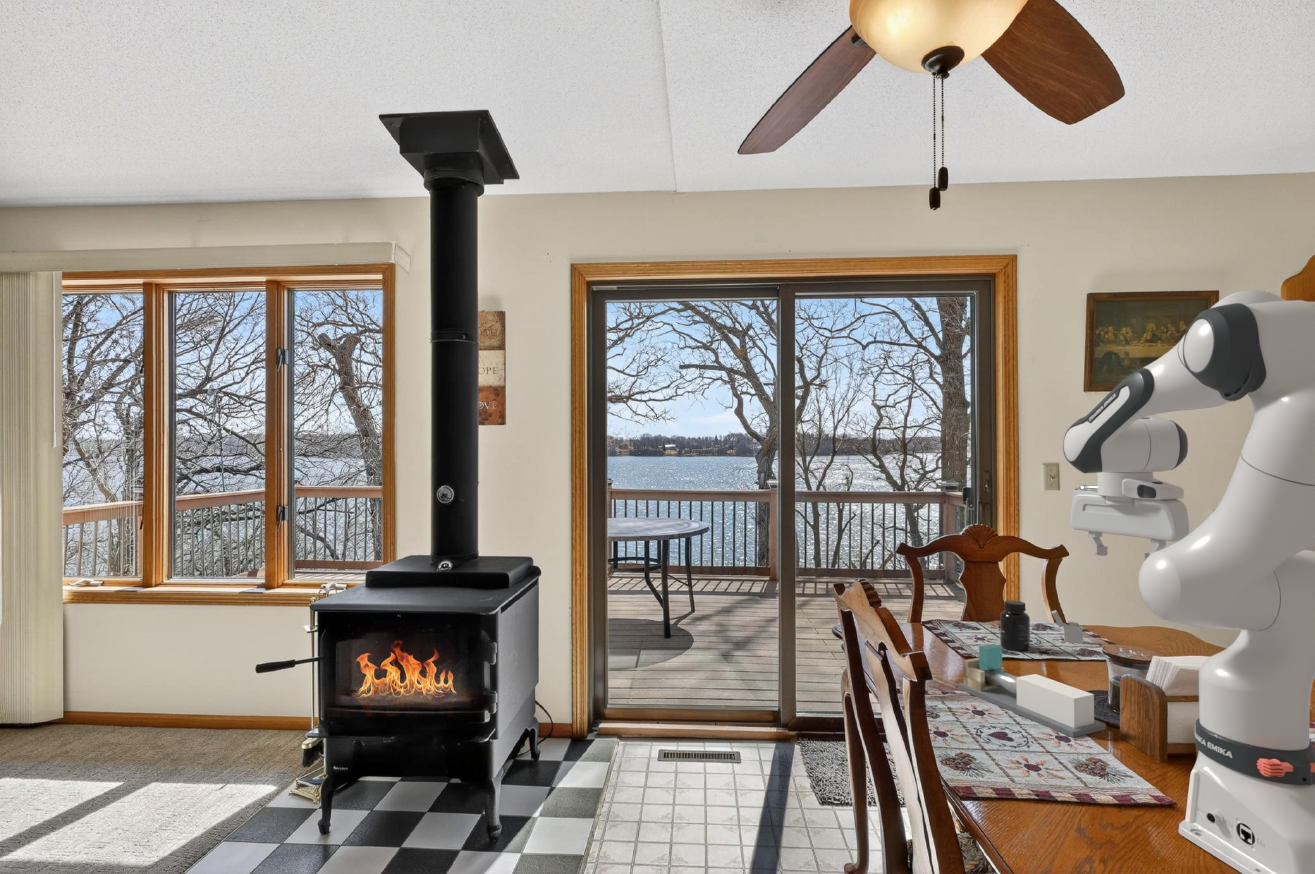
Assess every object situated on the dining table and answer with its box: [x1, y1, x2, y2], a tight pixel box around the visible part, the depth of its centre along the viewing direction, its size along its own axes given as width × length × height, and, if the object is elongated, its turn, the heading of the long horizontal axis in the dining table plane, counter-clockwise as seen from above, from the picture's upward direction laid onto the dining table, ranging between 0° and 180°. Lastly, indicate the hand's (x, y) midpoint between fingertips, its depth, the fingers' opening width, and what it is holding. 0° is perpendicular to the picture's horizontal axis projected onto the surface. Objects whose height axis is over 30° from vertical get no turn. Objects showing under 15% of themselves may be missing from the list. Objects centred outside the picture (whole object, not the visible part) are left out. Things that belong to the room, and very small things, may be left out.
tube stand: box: [957, 673, 1107, 738], centre depth 133 cm, size 26×9×6 cm, turn 22°
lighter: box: [1050, 609, 1084, 644], centre depth 178 cm, size 7×2×8 cm, turn 63°
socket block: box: [962, 657, 1005, 691], centre depth 143 cm, size 4×7×5 cm, turn 112°
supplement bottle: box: [999, 599, 1031, 653], centre depth 172 cm, size 7×7×12 cm
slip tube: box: [977, 643, 1018, 694], centre depth 136 cm, size 15×4×8 cm, turn 22°
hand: (1125, 558), depth 127 cm, fingers open, 8 cm apart
